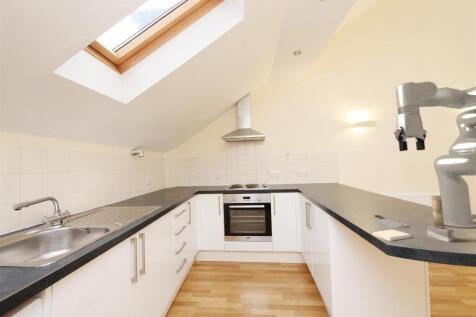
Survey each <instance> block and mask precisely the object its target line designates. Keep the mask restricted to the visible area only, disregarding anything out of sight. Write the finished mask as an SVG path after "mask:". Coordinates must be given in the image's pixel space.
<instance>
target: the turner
mask: <svg viewBox="0 0 476 317" xmlns="http://www.w3.org/2000/svg"><path fill="white" fill-rule="evenodd" d="M430 197H431V206H432V216H433V217H432V218H433V225H432V224H431V225H427V226H426V235H427V238H428V237H429V238H432V239H436V240H438V241H439V240H440V241H444V242H447V243H450V242H454V241H455V235H454V234H455V233H454V229H452V228H448V227H445V225H444V219H443V210H442V201H441V196H440V195H436V194H435V195H430Z"/></svg>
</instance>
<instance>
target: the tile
mask: <svg viewBox="0 0 476 317" xmlns="http://www.w3.org/2000/svg"><path fill="white" fill-rule="evenodd" d="M372 235H373V236H374V237H378V238H380V239H383V240H385V241H389V242H393V241H398V240H404V239H411V238H412V235H411V234H410V233H408V232H407V233H406V232H404V231H399V230H396V229H393V228H392V229H391V228H390V229H387V230H386V229H385V230H379V231H373V232H372Z"/></svg>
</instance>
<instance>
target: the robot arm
mask: <svg viewBox="0 0 476 317" xmlns="http://www.w3.org/2000/svg"><path fill="white" fill-rule="evenodd" d="M395 96H396V97H395V98H396V105H397V106H396V107H397V116H396V121H395V123H396V124H395V125H396V126H395V128H396V129H395V130H394V131H393V134H394V136H395V139H396V140H397V141H396V142H398V149H399V152H406V151H409V150H408V141H407V139H410V138H414V139H415V140H416V141H415V147H416V151H426V145H425V143H426V142H425V141H426V137H427V133H428V132H427V130H426V129H424V125H423V120H422V116H421V112H420V111H421V110H420V108H431V107H433V108H434V107H443V108H448V109H449V108H450V109H455V110H462V109H466V108H467V109H468V108H472V107H476V86H473V87H470V88H467V89H459V88H458V89H457V88H454V87H453V88H452V87H449V86H448V87H440V88H439V87H438V86H437V84H435V83H434V82H432V81H422V82H413V81H409V82H405V83H401V84H399V85H396V87H395ZM456 126H457V128H458V131H459V134H458V136H457V138H456V139H455V141H454V142H453V143H452V144H451V146H450V147H449V150H448V154H445V155H444V154H443V155H440V156H438V157H436V159H434V162H433V168H434V170H435V173H436V176H437V180H438V187H439V196H441V201H442V210H443V219H444V226H447V227H453V228H461V229H462V228H463V229H465V228H467V229H471V228H473V229H474V228H476V221H473V220H476V214H474V213H473V214H472V207H471V198H470V192H469V191H470V190H469V185H468V182H467V181H466V180H465V179H464V178H463V177H462V176H465V177H466V176H468V177H469V176H473V177H474V176H476V108H473V109H469V110H465V111H462V112H461V113H459V114H458V116H456Z"/></svg>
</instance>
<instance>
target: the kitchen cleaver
mask: <svg viewBox="0 0 476 317" xmlns="http://www.w3.org/2000/svg"><path fill="white" fill-rule="evenodd" d="M374 217H375V218H378V219H376V220H374V222H377V223H379V224H382V225H383V226H387V227H389V228H392V229H394V228H395V229H397V228H399V229H400V228H409V224H406V223H402V222H397V221H395V220H392V219H390V218H387V217H384V216H382V215H380V214H375V215H374Z"/></svg>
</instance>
